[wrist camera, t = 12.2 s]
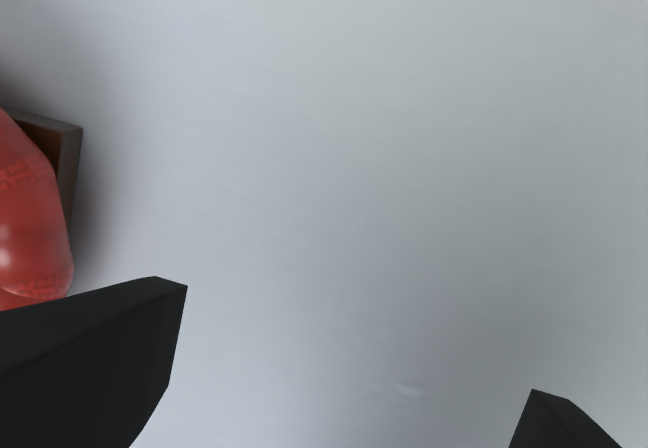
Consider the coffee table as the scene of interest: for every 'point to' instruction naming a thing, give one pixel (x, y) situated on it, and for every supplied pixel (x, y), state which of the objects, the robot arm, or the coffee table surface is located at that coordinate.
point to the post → (54, 150)
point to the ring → (30, 224)
